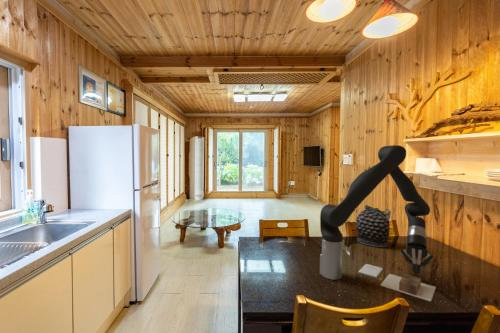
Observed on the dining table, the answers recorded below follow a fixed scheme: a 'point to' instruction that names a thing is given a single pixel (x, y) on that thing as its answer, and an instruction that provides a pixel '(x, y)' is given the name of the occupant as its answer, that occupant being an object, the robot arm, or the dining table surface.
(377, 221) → the dark studded dome
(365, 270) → the external hard drive
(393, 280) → the mat
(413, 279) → the card box
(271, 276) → the dining table surface
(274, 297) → the dining table surface
